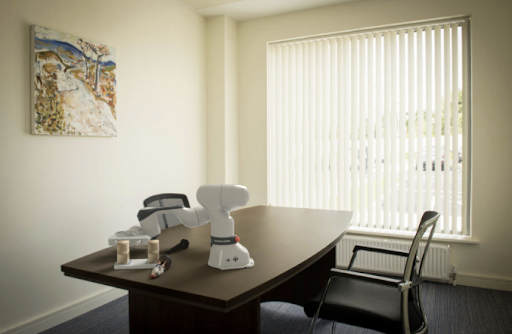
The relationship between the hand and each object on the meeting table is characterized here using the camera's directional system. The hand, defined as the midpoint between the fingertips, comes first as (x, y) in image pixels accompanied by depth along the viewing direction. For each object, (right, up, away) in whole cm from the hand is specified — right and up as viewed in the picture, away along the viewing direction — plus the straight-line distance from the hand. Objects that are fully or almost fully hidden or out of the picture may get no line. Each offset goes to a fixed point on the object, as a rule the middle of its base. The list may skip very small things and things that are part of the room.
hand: (126, 244), depth 185 cm
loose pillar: (+1, -7, -8) cm, 10 cm away
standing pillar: (+15, -7, -6) cm, 18 cm away
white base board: (+8, -9, -7) cm, 14 cm away
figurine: (+20, -10, -16) cm, 28 cm away
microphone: (+20, -8, +19) cm, 29 cm away
